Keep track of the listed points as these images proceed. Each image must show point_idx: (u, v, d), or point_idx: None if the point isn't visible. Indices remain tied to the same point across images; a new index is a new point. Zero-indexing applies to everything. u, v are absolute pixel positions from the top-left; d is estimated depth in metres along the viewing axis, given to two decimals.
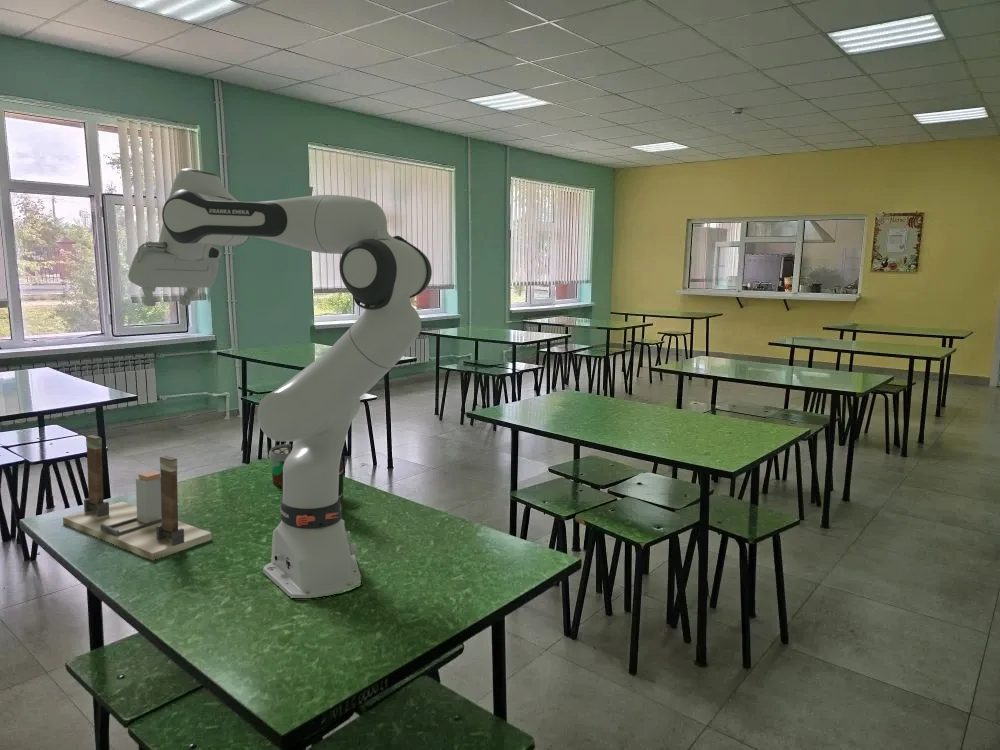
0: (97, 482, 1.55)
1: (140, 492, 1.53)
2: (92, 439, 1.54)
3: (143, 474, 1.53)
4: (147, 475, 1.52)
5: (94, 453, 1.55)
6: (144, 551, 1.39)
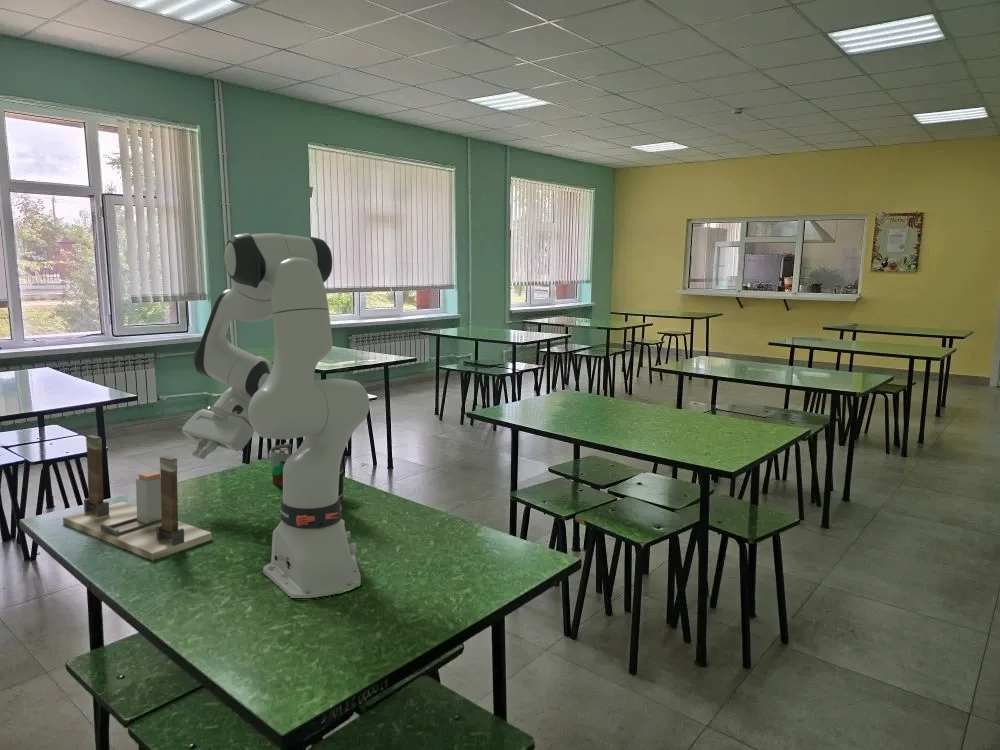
0: (97, 482, 1.55)
1: (140, 492, 1.53)
2: (92, 439, 1.54)
3: (143, 474, 1.53)
4: (147, 475, 1.52)
5: (94, 453, 1.55)
6: (144, 551, 1.39)
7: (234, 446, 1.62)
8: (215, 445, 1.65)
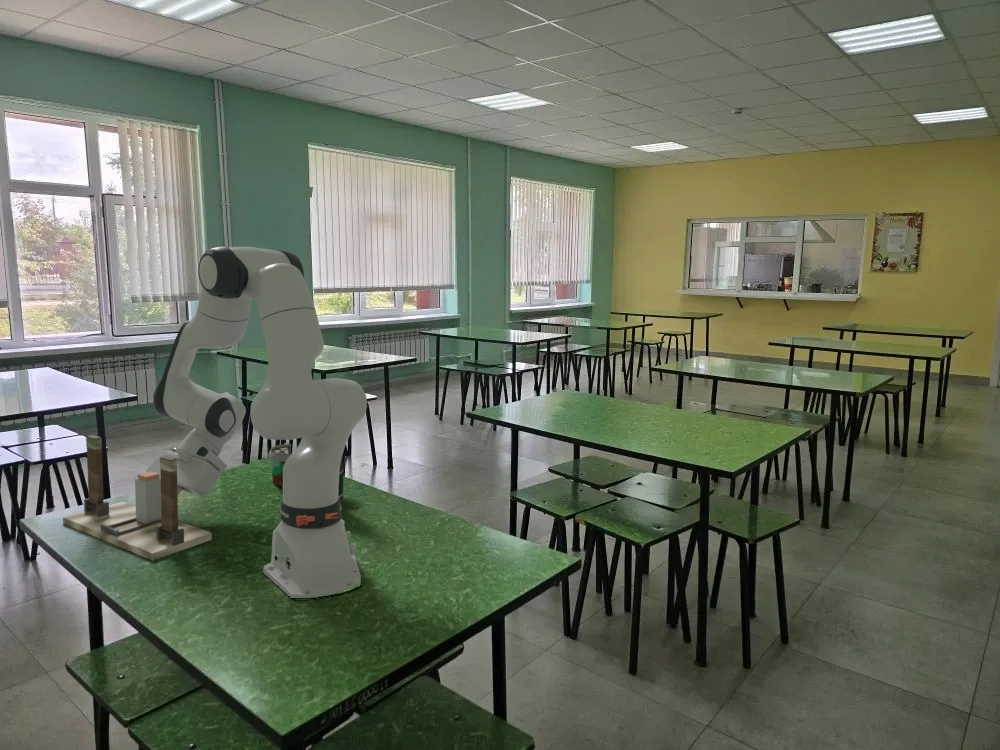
0: (97, 482, 1.55)
1: (139, 492, 1.52)
2: (92, 439, 1.54)
3: (142, 474, 1.53)
4: (146, 475, 1.52)
5: (94, 453, 1.55)
6: (144, 551, 1.39)
7: (198, 491, 1.54)
8: (179, 489, 1.58)
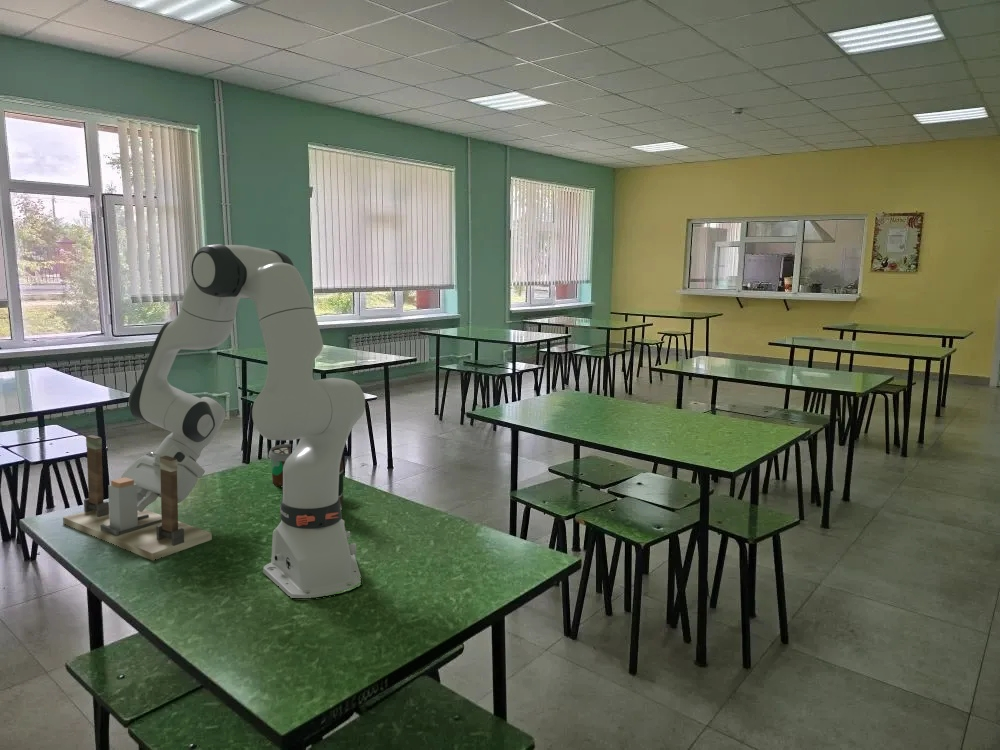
0: (97, 482, 1.55)
1: (112, 499, 1.47)
2: (92, 439, 1.54)
3: (116, 480, 1.47)
4: (120, 482, 1.47)
5: (94, 453, 1.55)
6: (144, 551, 1.39)
7: None
8: (155, 496, 1.52)
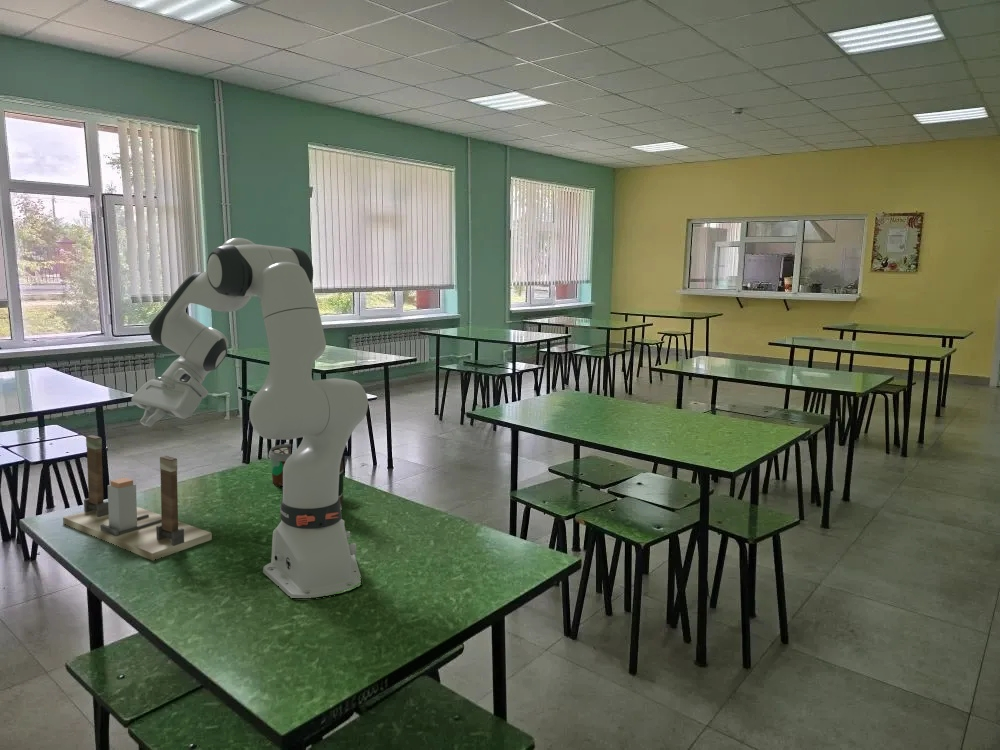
0: (97, 482, 1.55)
1: (112, 500, 1.47)
2: (92, 439, 1.54)
3: (115, 481, 1.47)
4: (119, 482, 1.47)
5: (94, 453, 1.55)
6: (144, 551, 1.39)
7: (180, 413, 1.63)
8: (163, 413, 1.67)
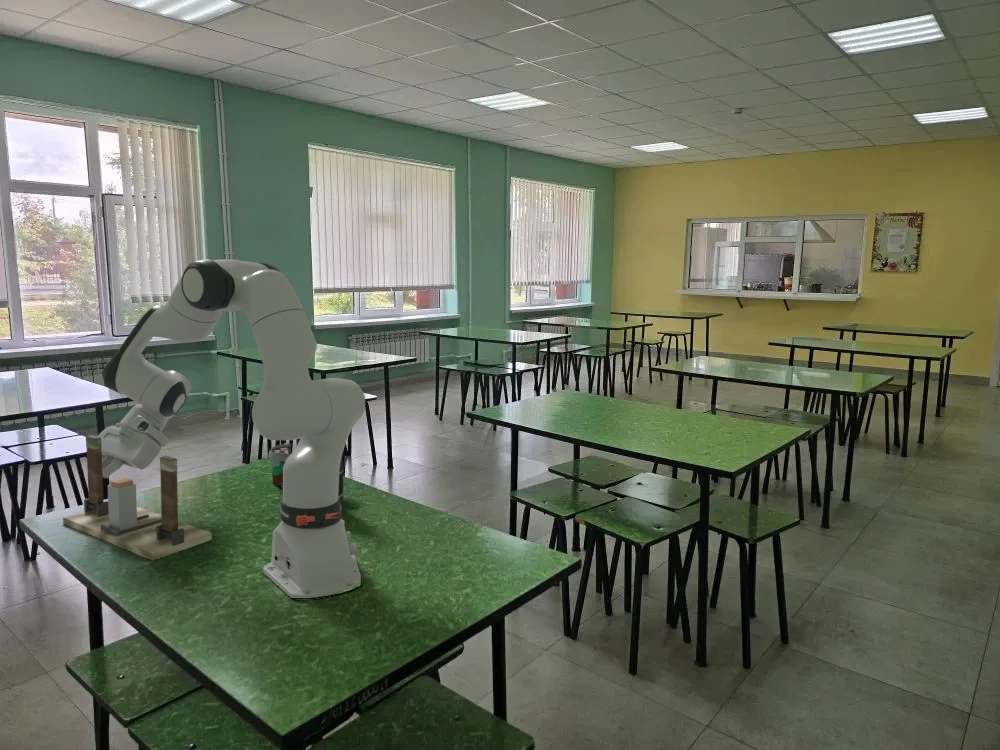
0: (97, 482, 1.55)
1: (112, 500, 1.47)
2: (92, 439, 1.54)
3: (115, 481, 1.47)
4: (119, 482, 1.47)
5: (94, 453, 1.55)
6: (144, 551, 1.39)
7: (137, 464, 1.55)
8: (120, 463, 1.59)
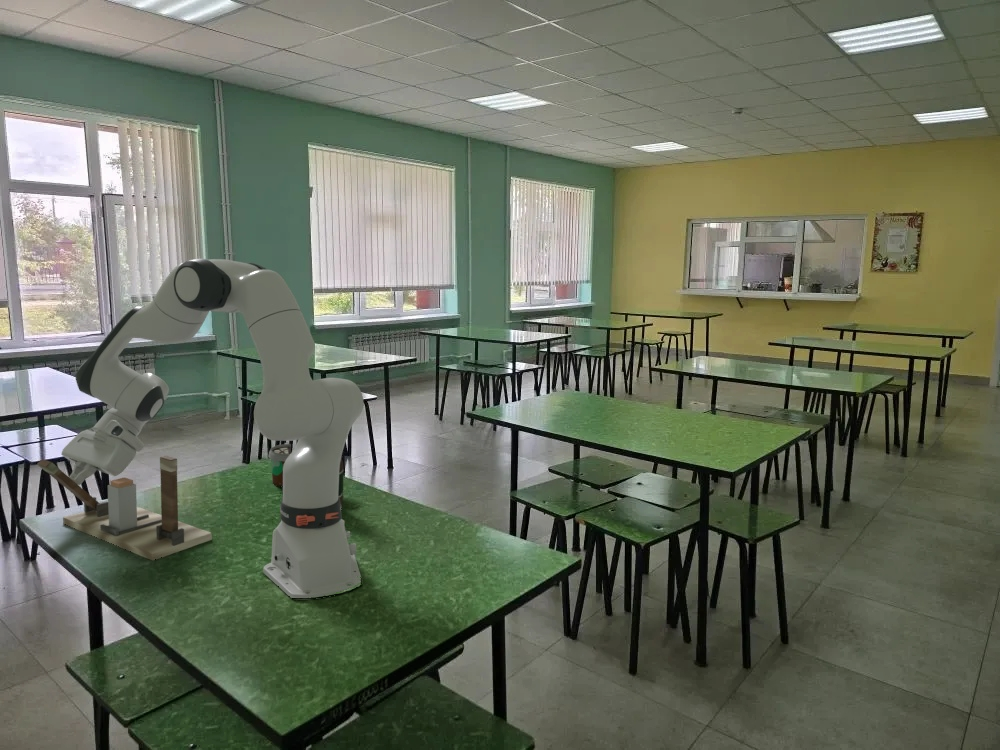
0: (79, 494, 1.52)
1: (112, 500, 1.47)
2: (44, 467, 1.46)
3: (115, 481, 1.47)
4: (119, 482, 1.47)
5: (56, 476, 1.48)
6: (144, 551, 1.39)
7: (110, 471, 1.50)
8: (93, 469, 1.54)
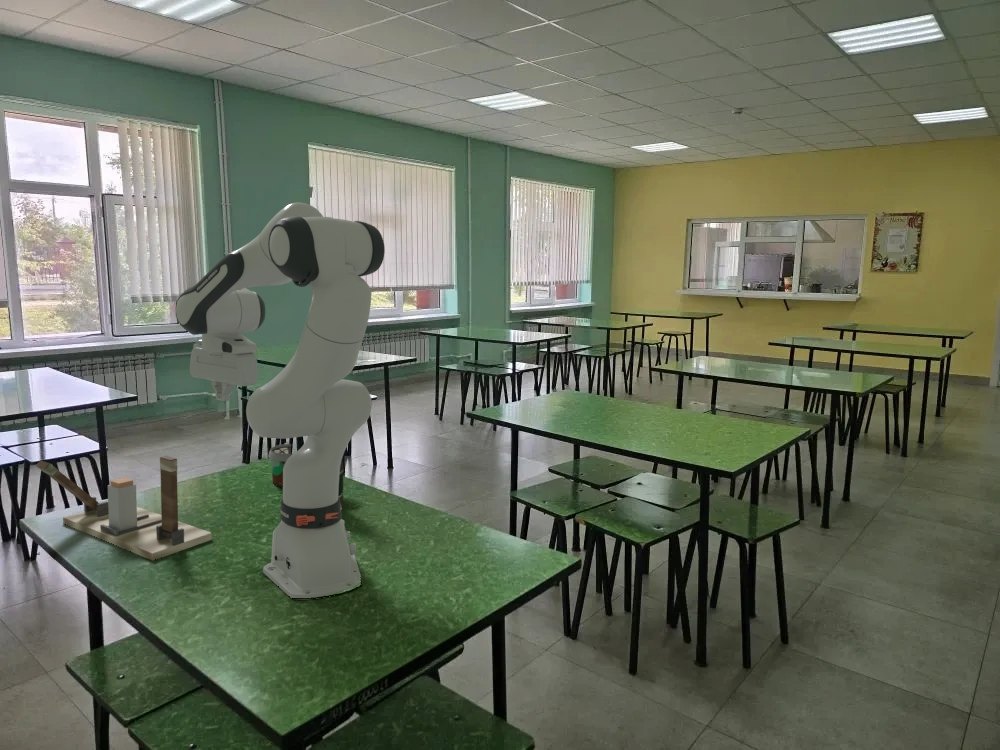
0: (79, 494, 1.52)
1: (112, 500, 1.47)
2: (43, 468, 1.46)
3: (115, 481, 1.47)
4: (119, 482, 1.47)
5: (55, 477, 1.48)
6: (144, 551, 1.39)
7: (248, 384, 1.54)
8: (230, 383, 1.59)
